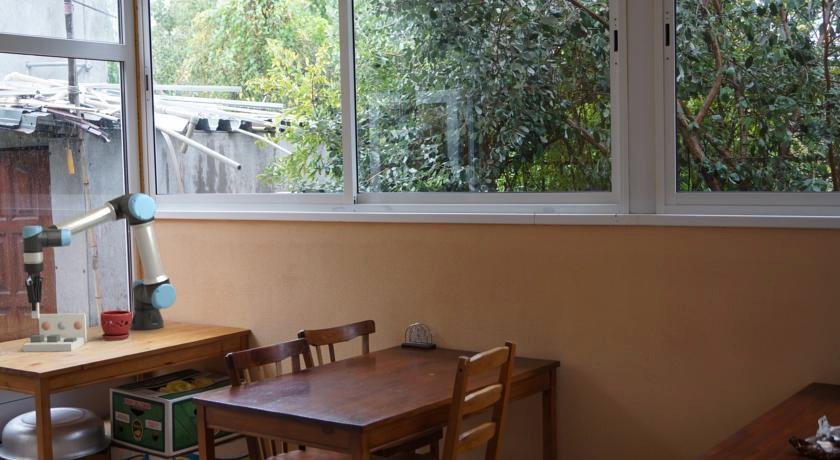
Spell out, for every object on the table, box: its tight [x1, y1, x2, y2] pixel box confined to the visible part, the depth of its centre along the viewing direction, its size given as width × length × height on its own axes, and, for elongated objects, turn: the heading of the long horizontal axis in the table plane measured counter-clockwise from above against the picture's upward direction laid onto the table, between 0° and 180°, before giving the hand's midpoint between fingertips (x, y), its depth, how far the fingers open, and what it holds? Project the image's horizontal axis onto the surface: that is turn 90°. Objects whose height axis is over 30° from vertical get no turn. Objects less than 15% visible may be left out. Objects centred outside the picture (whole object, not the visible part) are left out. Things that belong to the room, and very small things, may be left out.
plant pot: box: [100, 309, 133, 341], centre depth 415 cm, size 13×13×12 cm
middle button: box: [47, 334, 60, 342], centre depth 395 cm, size 4×4×3 cm
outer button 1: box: [64, 337, 77, 342], centre depth 395 cm, size 4×4×3 cm
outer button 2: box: [29, 334, 44, 343], centre depth 395 cm, size 4×4×3 cm
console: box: [22, 338, 85, 353], centre depth 395 cm, size 20×14×3 cm
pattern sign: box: [38, 312, 88, 342], centre depth 405 cm, size 20×5×13 cm, turn 89°
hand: (35, 318), depth 394 cm, fingers closed
